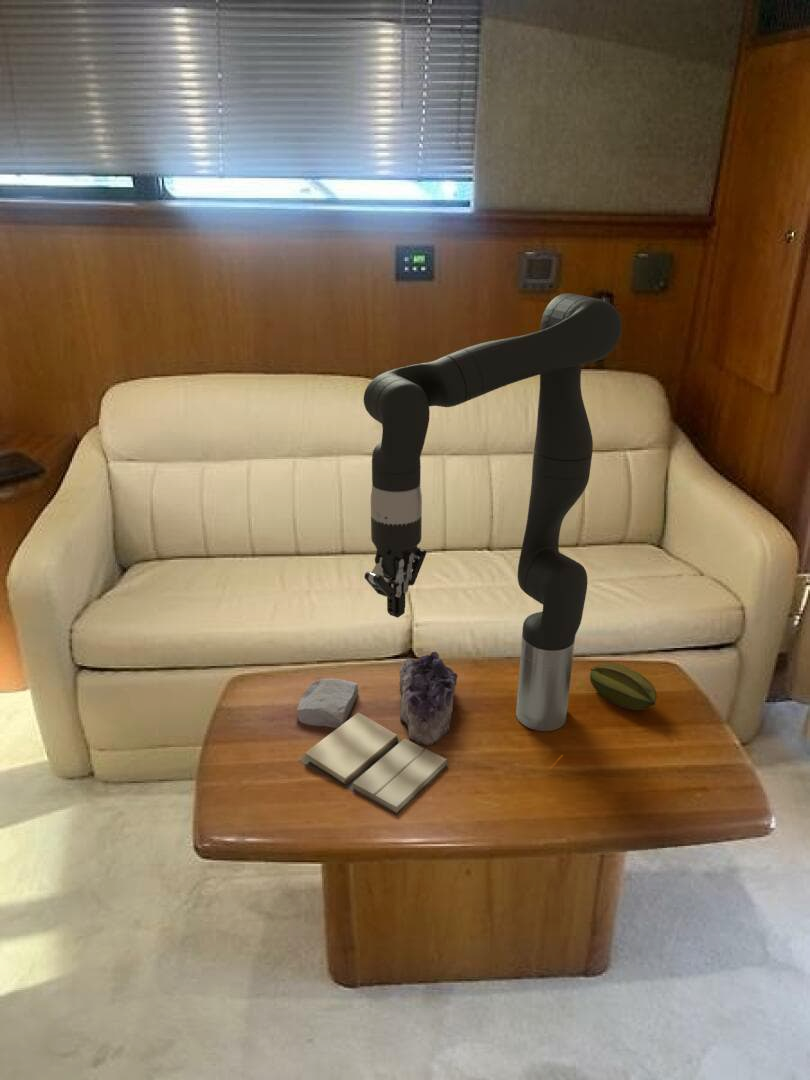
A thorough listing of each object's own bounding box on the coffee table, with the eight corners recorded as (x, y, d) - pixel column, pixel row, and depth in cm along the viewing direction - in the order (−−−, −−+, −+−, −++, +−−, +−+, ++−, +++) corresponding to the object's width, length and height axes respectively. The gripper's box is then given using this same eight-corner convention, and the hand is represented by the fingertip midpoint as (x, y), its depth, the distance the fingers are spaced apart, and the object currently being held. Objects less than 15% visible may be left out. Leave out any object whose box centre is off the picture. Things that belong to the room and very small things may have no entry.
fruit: (645, 685, 156) (650, 657, 153) (654, 723, 145) (659, 693, 142) (587, 680, 157) (590, 652, 154) (591, 717, 146) (595, 688, 144)
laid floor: (355, 718, 146) (355, 711, 145) (449, 765, 134) (449, 757, 133) (298, 762, 135) (298, 754, 134) (396, 817, 123) (396, 809, 122)
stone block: (295, 733, 145) (346, 731, 142) (289, 711, 143) (341, 709, 141) (314, 697, 155) (362, 695, 153) (309, 676, 154) (357, 673, 151)
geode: (466, 748, 138) (460, 703, 134) (401, 755, 139) (393, 711, 135) (458, 678, 157) (453, 636, 152) (401, 684, 157) (394, 643, 153)
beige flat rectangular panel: (357, 717, 144) (358, 712, 144) (398, 740, 139) (398, 735, 139) (305, 758, 134) (305, 752, 133) (346, 784, 129) (346, 779, 129)
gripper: (388, 533, 109) (389, 640, 116) (442, 504, 119) (440, 605, 126) (347, 520, 113) (350, 624, 120) (402, 493, 123) (402, 591, 130)
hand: (396, 614), depth 123 cm, fingers closed
